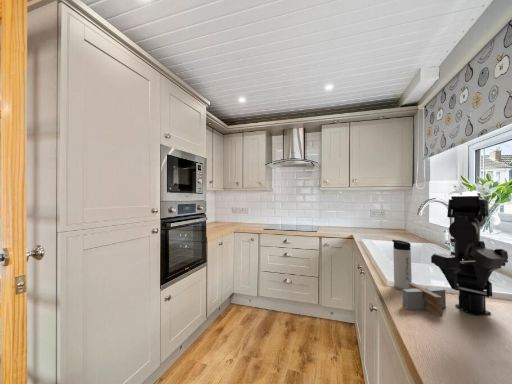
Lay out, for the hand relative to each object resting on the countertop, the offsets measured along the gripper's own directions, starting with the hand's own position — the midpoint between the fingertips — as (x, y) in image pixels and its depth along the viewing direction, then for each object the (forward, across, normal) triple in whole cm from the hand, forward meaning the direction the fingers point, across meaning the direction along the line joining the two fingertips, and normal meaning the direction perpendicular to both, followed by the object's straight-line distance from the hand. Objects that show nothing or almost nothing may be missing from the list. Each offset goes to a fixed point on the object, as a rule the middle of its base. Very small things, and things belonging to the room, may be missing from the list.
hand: (467, 288), depth 70 cm
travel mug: (+11, 0, +28) cm, 30 cm away
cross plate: (+11, -4, +12) cm, 17 cm away
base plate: (+11, -4, +12) cm, 17 cm away
